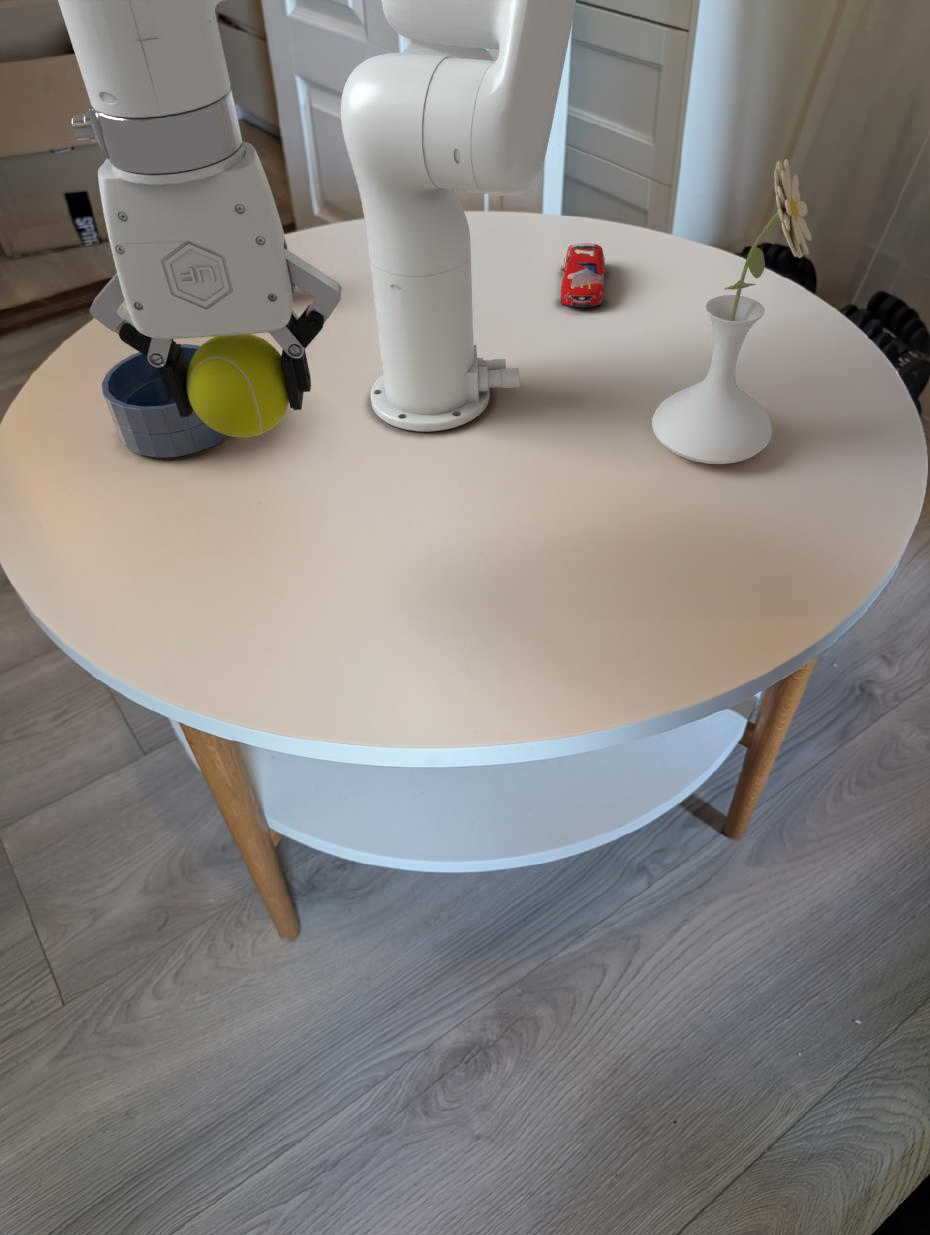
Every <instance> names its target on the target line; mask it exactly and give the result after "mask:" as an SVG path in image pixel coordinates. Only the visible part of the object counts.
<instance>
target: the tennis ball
mask: <svg viewBox="0 0 930 1235" xmlns="http://www.w3.org/2000/svg"><path fill="white" fill-rule="evenodd" d="M199 346H200V347H199V348H198V350H197V351H196V352H195V354H194V355H193V357H192V359H191V361H190V364H189V366H188V370H187V377H186V386H187V394H188V398H189V401H190V404H191V406H192V408H193V410H194V411H195V413H196V414H197V416H198V417H199V418H200V419H201V420H202V421H203V422H204V423H205V424H206V425H207V426H209V427H210V428H212V429H213V430H215V431H217V432H219V433H222V434H224V435H228V436H227V437H233V438H252V437H257V436H261V435H263V434H264V433H267V432H269V431H270V430H272V429H273V428H274V427H276V425H278V424H279V422H280V421H281V420H282V418H283V417H284V415H285V413H286V412H287V409H288V407H289V405H290V404H289V399H288V395H287V390H286V386H285V381H284V377H283V372H282V368H281V355H282V354H280V352H279V351H278V350H277V348H276V347H275V346H273V345H272V344H271V343H270V342H269V341H268V340H266V339H264V338H262V337H260V336H258V335H256V334H244V335H230V336H214V337H212V338H211V337H210V338H209V339H207V341H205V342H204V343H203V344H201V345H199Z"/></svg>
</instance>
